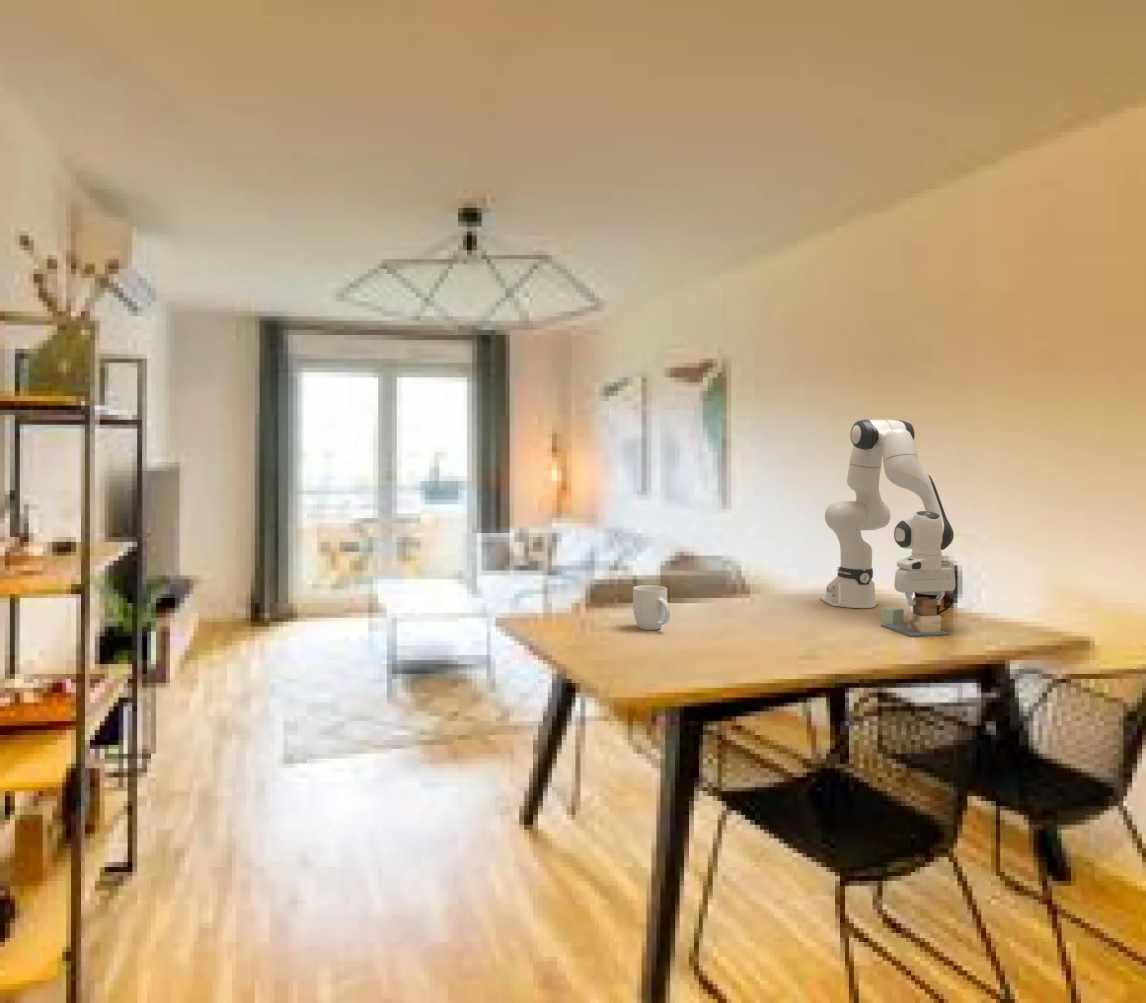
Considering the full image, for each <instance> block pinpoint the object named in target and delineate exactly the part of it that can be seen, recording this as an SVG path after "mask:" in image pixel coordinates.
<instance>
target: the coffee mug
mask: <svg viewBox="0 0 1146 1003" xmlns="http://www.w3.org/2000/svg"><path fill="white" fill-rule="evenodd" d="M913 594H914V598H920V597H928V598H931V599H936V597H937V595H938V594H937V591H935V592H913ZM944 599H948V600H949V602H950V603H949V604H948V605H947V606H946V607H945V608H943V609H941V610H940V607H941V605H937V613H936V615H939V616H940V614H941V613H944V612H945V611H947V610H948V609H949V608H950V607H951V606H952V605H953V600H952V598H951V597H949V596H945V595H944V597H943V598H942V600H941V602H942V601H943V600H944Z"/></svg>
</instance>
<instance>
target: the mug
mask: <svg viewBox="0 0 1146 1003" xmlns="http://www.w3.org/2000/svg"><path fill="white" fill-rule="evenodd" d="M632 590H633V591H632V608H633V615H634V620H635V622H636V625H637V626H638V628H639V629H641V630H645V631H656V630H659V629H661V627H662V626H663V625H666V624H667V623H669V621H670V618H671V609H670V605H669V602H668V587H665V586H660V585H649V584H648V585H647V584H646V585H643V584H642V585H637V586H634V587H633V588H632Z"/></svg>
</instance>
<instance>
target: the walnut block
mask: <svg viewBox="0 0 1146 1003" xmlns="http://www.w3.org/2000/svg"><path fill="white" fill-rule="evenodd" d="M912 599H913V600H914V601H915V606H912V612H913V613H914V614H917V615H920V616H936V613H937V600H935V599H931V598H928V597H920V598H915V597H912Z"/></svg>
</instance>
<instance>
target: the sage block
mask: <svg viewBox="0 0 1146 1003" xmlns="http://www.w3.org/2000/svg"><path fill="white" fill-rule="evenodd" d="M904 611H905V609H904V608H900V607H896V606H883V607H881V608H880V623H881V624H898V623H904Z"/></svg>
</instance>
